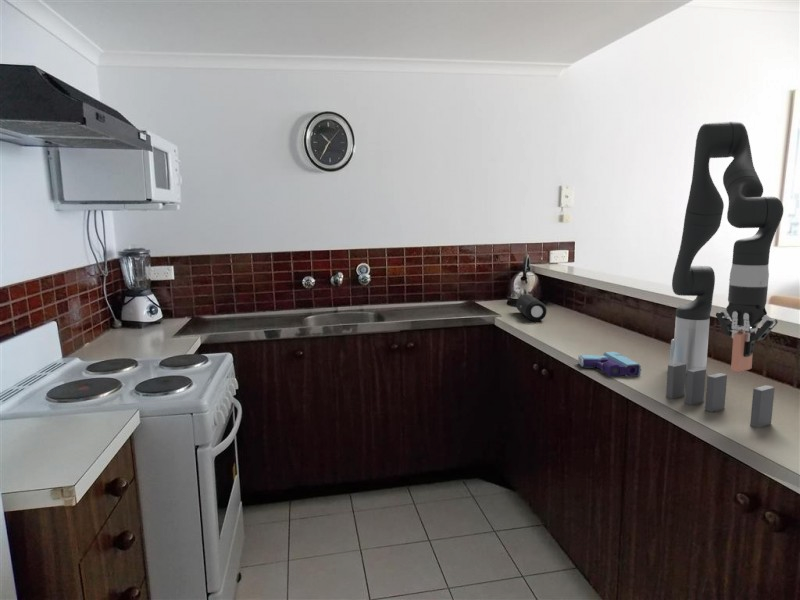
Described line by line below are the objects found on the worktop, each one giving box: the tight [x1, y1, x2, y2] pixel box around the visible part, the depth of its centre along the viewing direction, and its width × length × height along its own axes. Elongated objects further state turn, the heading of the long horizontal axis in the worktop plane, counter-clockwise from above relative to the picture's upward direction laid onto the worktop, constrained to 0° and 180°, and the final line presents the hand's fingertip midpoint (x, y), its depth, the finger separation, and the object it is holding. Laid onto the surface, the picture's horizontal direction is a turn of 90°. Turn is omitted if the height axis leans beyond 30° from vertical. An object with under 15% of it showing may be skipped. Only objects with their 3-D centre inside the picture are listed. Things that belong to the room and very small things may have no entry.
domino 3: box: [704, 372, 728, 413], centre depth 129 cm, size 2×5×9 cm, turn 116°
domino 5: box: [749, 384, 775, 429], centre depth 119 cm, size 2×5×9 cm, turn 116°
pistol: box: [577, 351, 642, 377], centre depth 164 cm, size 4×16×15 cm
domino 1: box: [665, 362, 687, 400], centre depth 139 cm, size 2×5×9 cm, turn 116°
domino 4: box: [730, 332, 754, 373], centre depth 122 cm, size 2×5×9 cm, turn 115°
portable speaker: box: [515, 293, 548, 322], centre depth 250 cm, size 26×10×10 cm, turn 0°
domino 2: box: [684, 367, 707, 406], centre depth 134 cm, size 2×5×9 cm, turn 116°
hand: (742, 355), depth 122 cm, fingers closed on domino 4, 1 cm apart
